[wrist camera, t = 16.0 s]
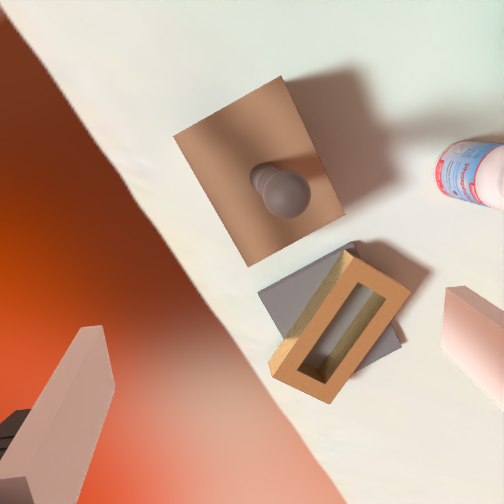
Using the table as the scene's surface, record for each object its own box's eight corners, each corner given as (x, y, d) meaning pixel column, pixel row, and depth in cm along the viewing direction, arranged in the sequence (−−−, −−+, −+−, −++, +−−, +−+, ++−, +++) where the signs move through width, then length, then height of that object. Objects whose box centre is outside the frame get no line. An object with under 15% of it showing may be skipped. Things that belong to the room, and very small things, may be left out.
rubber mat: (350, 241, 46) (353, 244, 45) (398, 343, 51) (401, 347, 50) (257, 292, 47) (258, 295, 46) (312, 388, 51) (315, 393, 50)
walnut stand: (266, 85, 40) (320, 47, 22) (320, 200, 44) (406, 249, 26) (178, 135, 41) (158, 139, 22) (240, 244, 45) (267, 324, 26)
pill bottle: (421, 164, 45) (490, 174, 34) (468, 129, 44) (553, 129, 33) (446, 207, 46) (519, 230, 36) (491, 174, 46) (579, 188, 35)
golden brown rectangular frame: (398, 282, 47) (411, 292, 44) (322, 389, 50) (329, 404, 47) (344, 249, 45) (353, 257, 42) (268, 362, 48) (272, 377, 45)
